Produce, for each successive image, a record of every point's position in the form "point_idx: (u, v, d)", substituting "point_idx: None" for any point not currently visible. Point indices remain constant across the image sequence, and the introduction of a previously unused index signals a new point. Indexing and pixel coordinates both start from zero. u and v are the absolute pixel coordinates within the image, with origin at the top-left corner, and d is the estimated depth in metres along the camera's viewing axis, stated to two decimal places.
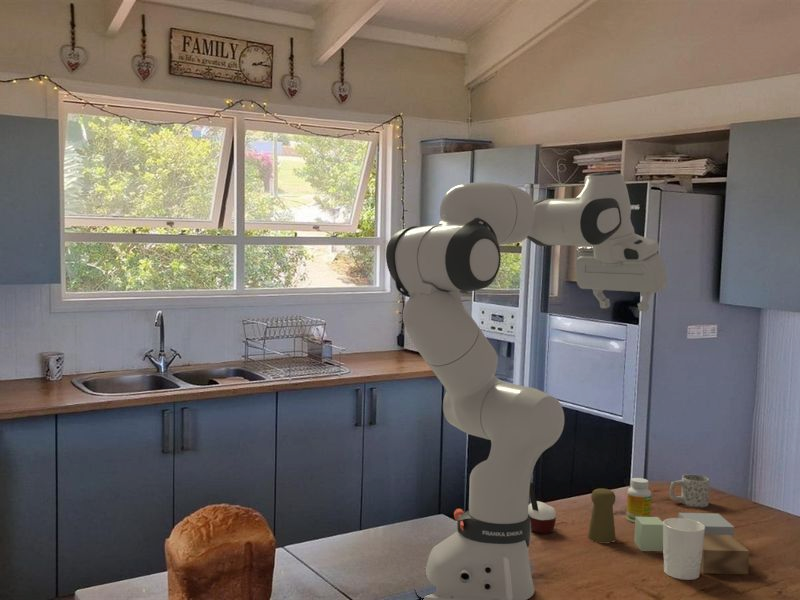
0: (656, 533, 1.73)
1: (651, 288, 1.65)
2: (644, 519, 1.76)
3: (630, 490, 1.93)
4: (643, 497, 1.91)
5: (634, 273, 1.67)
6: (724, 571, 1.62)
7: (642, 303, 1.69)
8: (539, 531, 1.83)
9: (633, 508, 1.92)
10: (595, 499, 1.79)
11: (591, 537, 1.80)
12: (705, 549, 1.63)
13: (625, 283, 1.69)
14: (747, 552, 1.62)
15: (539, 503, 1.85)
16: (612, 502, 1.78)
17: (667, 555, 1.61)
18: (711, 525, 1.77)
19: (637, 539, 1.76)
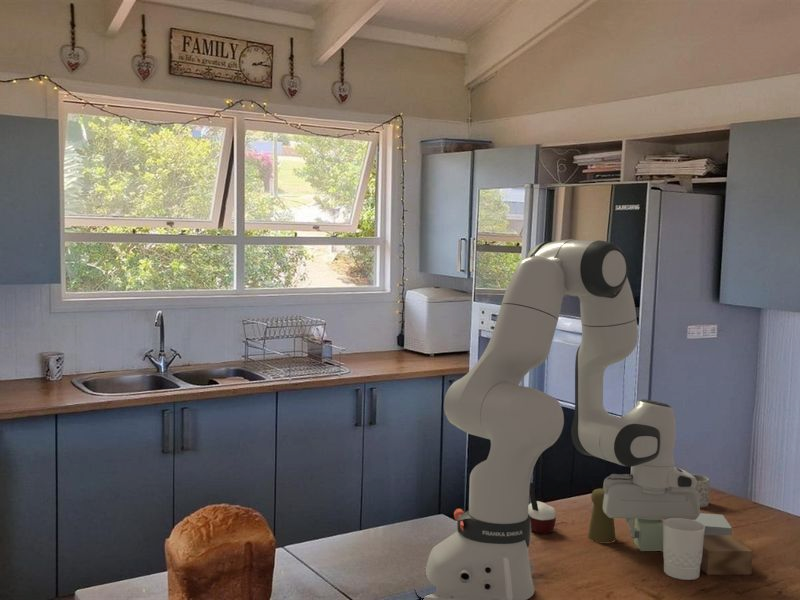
0: (656, 533, 1.73)
1: (693, 515, 1.74)
2: (644, 519, 1.76)
3: None
4: None
5: (676, 501, 1.74)
6: (728, 572, 1.62)
7: None
8: (539, 531, 1.83)
9: None
10: (595, 499, 1.79)
11: (591, 537, 1.80)
12: (709, 550, 1.62)
13: (665, 510, 1.74)
14: (750, 552, 1.62)
15: (539, 503, 1.85)
16: None
17: (667, 555, 1.61)
18: (708, 525, 1.77)
19: (637, 539, 1.76)
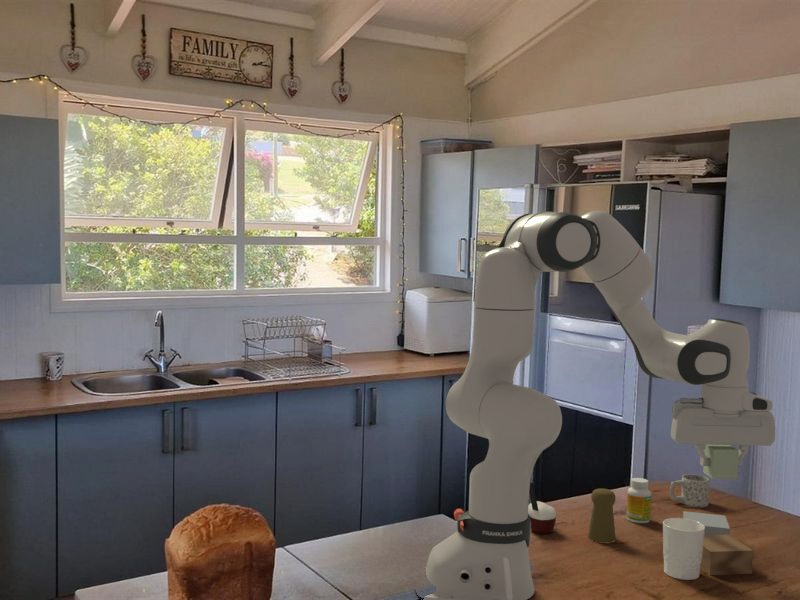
0: (729, 459, 1.63)
1: (768, 441, 1.64)
2: (714, 445, 1.66)
3: (630, 490, 1.93)
4: (643, 497, 1.91)
5: (750, 425, 1.64)
6: (729, 572, 1.62)
7: (741, 458, 1.65)
8: (539, 531, 1.83)
9: (633, 508, 1.92)
10: (595, 499, 1.79)
11: (591, 537, 1.80)
12: (711, 551, 1.62)
13: (738, 436, 1.64)
14: (751, 551, 1.62)
15: (539, 503, 1.85)
16: (612, 502, 1.78)
17: (667, 555, 1.61)
18: (706, 525, 1.77)
19: (707, 467, 1.66)
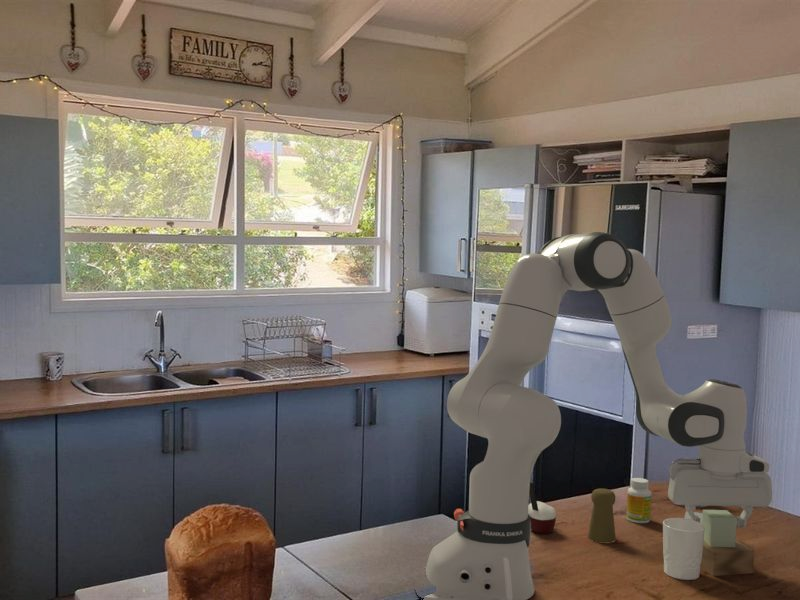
0: (726, 527, 1.64)
1: (764, 502, 1.64)
2: (712, 512, 1.67)
3: (630, 490, 1.93)
4: (643, 497, 1.91)
5: (747, 486, 1.64)
6: (732, 572, 1.62)
7: (745, 518, 1.65)
8: (539, 531, 1.83)
9: (633, 508, 1.92)
10: (595, 499, 1.79)
11: (591, 537, 1.80)
12: (714, 552, 1.61)
13: (735, 497, 1.64)
14: (752, 551, 1.63)
15: (539, 503, 1.85)
16: (612, 502, 1.78)
17: (667, 555, 1.61)
18: None
19: (705, 533, 1.67)
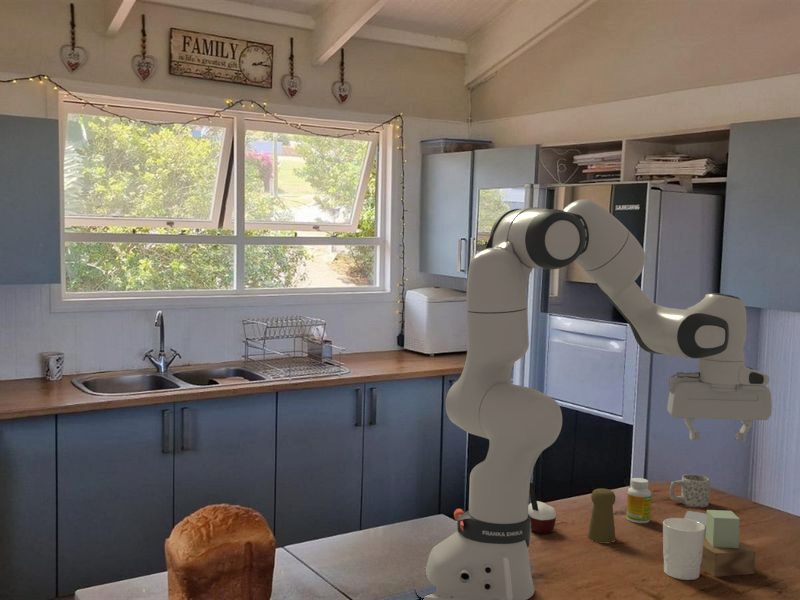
0: (729, 527, 1.64)
1: (764, 415, 1.64)
2: (716, 512, 1.67)
3: (630, 490, 1.93)
4: (643, 497, 1.91)
5: (746, 400, 1.64)
6: (733, 573, 1.62)
7: (745, 432, 1.65)
8: (539, 531, 1.83)
9: (633, 508, 1.92)
10: (595, 499, 1.79)
11: (591, 537, 1.80)
12: (715, 552, 1.61)
13: (734, 410, 1.64)
14: (753, 552, 1.62)
15: (539, 503, 1.85)
16: (612, 502, 1.78)
17: (667, 555, 1.61)
18: (703, 524, 1.77)
19: (709, 533, 1.67)
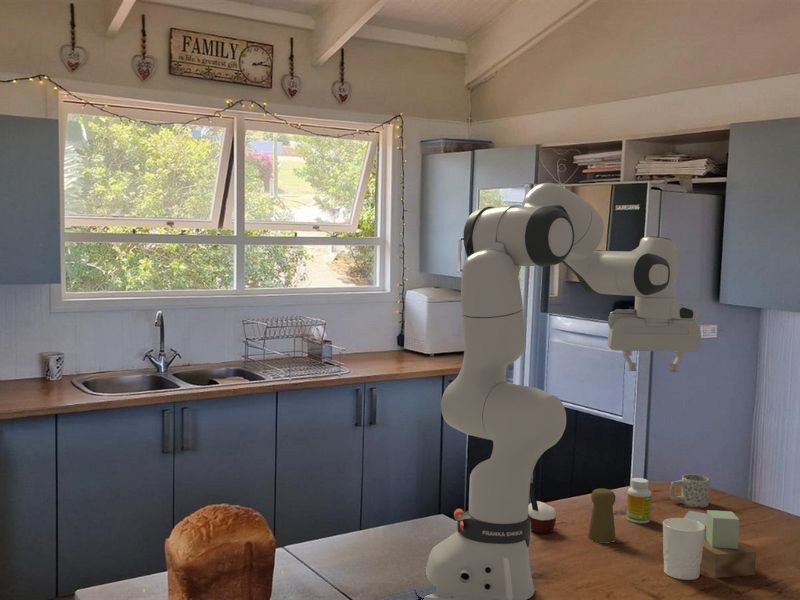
0: (729, 528, 1.63)
1: (694, 347, 1.80)
2: (716, 513, 1.66)
3: (630, 490, 1.93)
4: (643, 497, 1.91)
5: (678, 333, 1.80)
6: (733, 574, 1.61)
7: (677, 363, 1.82)
8: (539, 531, 1.83)
9: (633, 508, 1.92)
10: (595, 499, 1.79)
11: (591, 537, 1.80)
12: (716, 553, 1.60)
13: (667, 343, 1.80)
14: (754, 553, 1.62)
15: (539, 503, 1.85)
16: (612, 502, 1.78)
17: (667, 555, 1.61)
18: None
19: (708, 534, 1.66)
